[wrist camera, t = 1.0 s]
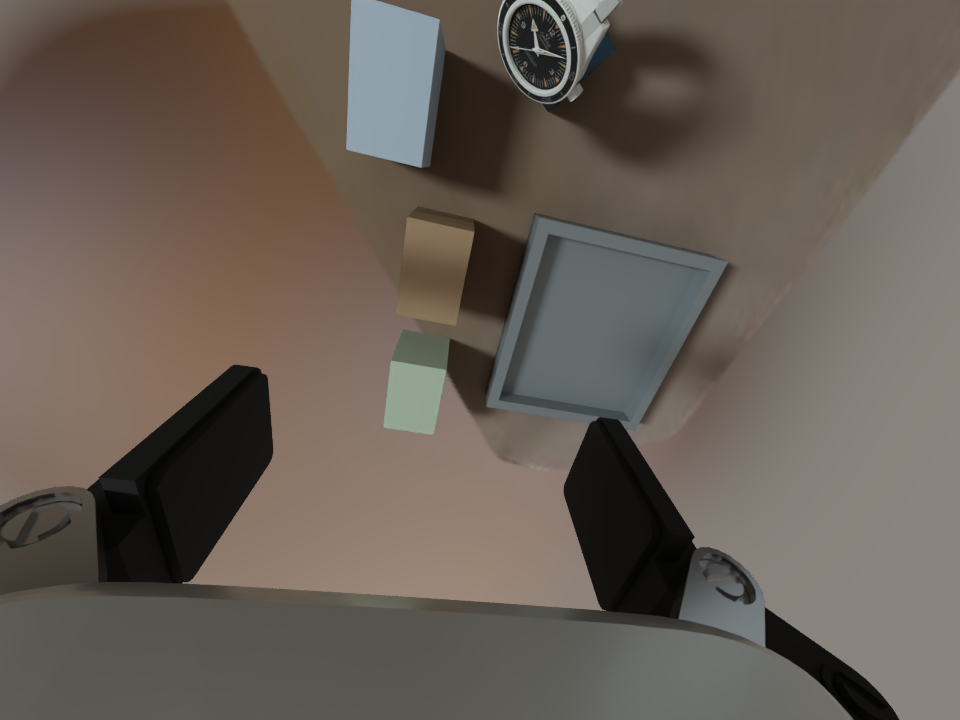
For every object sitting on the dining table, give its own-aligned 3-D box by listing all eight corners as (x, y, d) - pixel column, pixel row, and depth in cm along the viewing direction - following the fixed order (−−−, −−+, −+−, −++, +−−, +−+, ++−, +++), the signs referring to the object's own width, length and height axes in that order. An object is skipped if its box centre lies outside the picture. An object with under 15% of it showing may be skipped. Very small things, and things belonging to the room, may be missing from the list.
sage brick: (403, 329, 34) (390, 360, 29) (449, 337, 34) (446, 370, 29) (395, 389, 37) (383, 427, 32) (438, 396, 38) (433, 434, 32)
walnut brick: (418, 206, 29) (407, 216, 23) (473, 219, 29) (474, 232, 24) (408, 289, 32) (396, 314, 27) (457, 299, 32) (455, 325, 27)
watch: (476, 60, 24) (481, -5, 15) (575, -52, 22) (660, -219, 12) (526, 133, 26) (560, 119, 17) (622, 40, 24) (725, -41, 14)
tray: (534, 213, 29) (539, 217, 27) (710, 254, 31) (728, 261, 29) (485, 393, 37) (486, 406, 35) (626, 416, 40) (635, 430, 37)
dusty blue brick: (377, 30, 23) (351, -8, 18) (445, 50, 24) (439, 19, 19) (370, 151, 27) (346, 149, 21) (430, 166, 27) (421, 167, 22)
